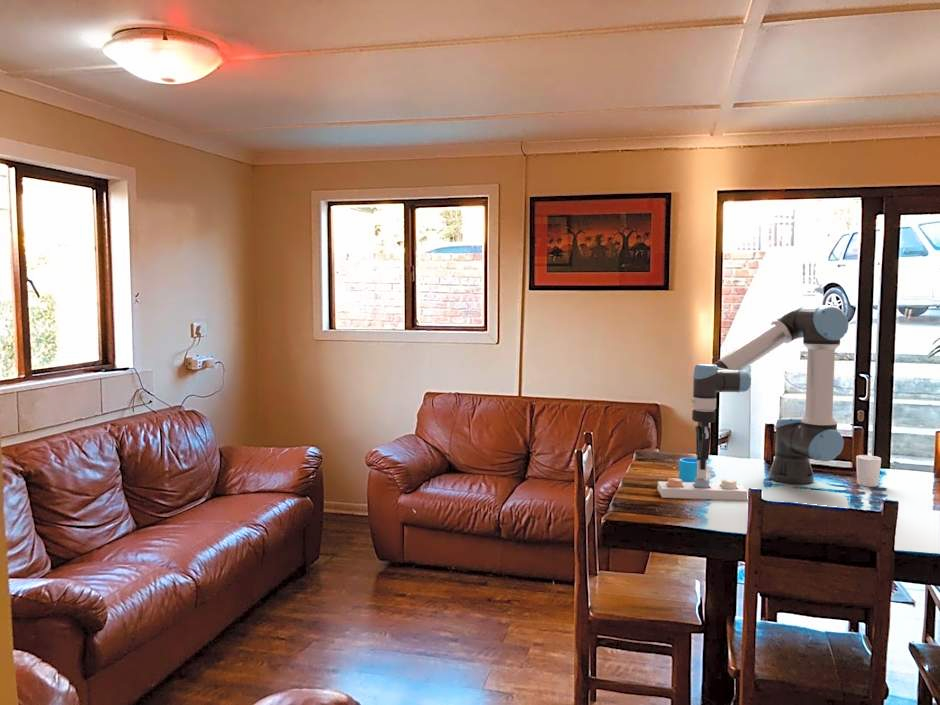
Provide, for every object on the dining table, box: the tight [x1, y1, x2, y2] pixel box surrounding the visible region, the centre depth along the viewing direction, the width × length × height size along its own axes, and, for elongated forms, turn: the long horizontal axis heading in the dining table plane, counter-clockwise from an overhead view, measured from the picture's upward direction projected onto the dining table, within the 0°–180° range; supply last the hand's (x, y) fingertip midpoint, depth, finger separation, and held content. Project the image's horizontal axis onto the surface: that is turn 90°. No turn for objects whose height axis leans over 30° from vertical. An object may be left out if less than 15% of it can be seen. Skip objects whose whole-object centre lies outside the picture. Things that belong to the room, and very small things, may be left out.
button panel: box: [657, 480, 748, 501], centre depth 251 cm, size 28×10×3 cm, turn 84°
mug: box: [678, 457, 698, 482], centre depth 270 cm, size 12×8×8 cm
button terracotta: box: [667, 477, 682, 488], centre depth 252 cm, size 5×5×4 cm
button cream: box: [721, 479, 738, 489], centre depth 250 cm, size 5×5×4 cm
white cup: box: [855, 454, 882, 488], centre depth 265 cm, size 8×8×10 cm
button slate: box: [694, 477, 710, 488], centre depth 251 cm, size 5×5×4 cm
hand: (701, 478), depth 250 cm, fingers closed
